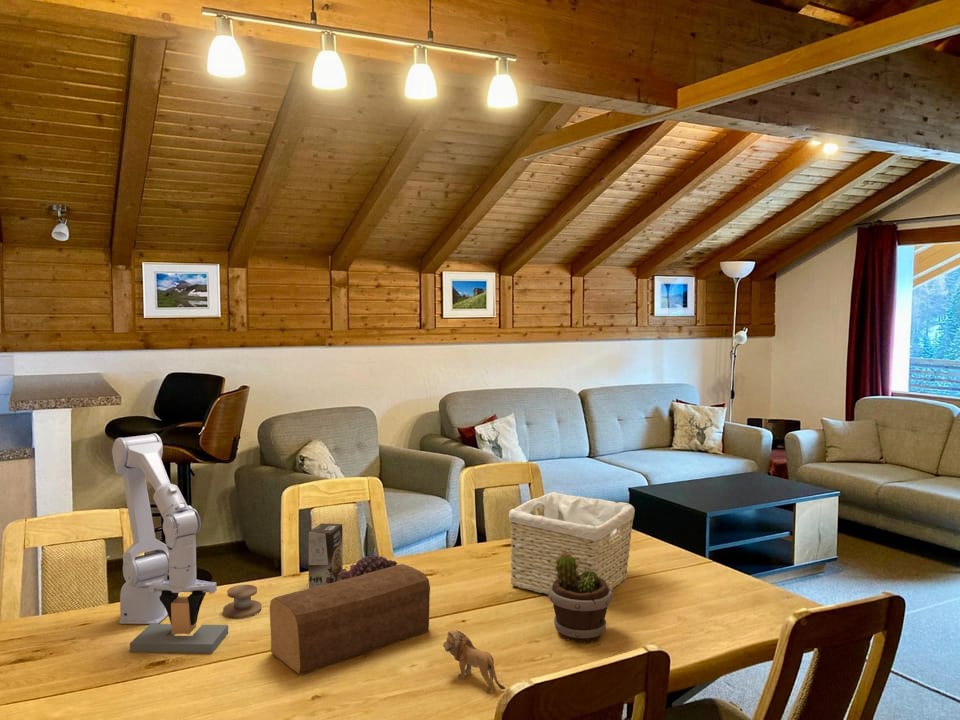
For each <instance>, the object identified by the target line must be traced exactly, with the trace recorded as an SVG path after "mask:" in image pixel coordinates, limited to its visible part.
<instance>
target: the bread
mask: <svg viewBox="0 0 960 720" xmlns="http://www.w3.org/2000/svg"><path fill="white" fill-rule="evenodd" d="M430 594H431V585H430V580H429V577H427V575H426V574H425V573H424V572H422V571H421V570H418V569H417V568H415V567H413V566H410V565H407V564H405V563H402V564H401V563H400V564H396V566H392V567H388V568H385V569H381V570H378V571H374V572H370V573H367V574H364V575H360V576H357V577H353V578H348V579H344V580H340V581H337V582H334V583H329V584H324V585H320V586H317V587H313V588H309V587H308V588H305V589H301V590H298V591H294V592H290V593H285V594H282V595H279V596H276V597H273V598H272V599H271V600H270V604H269V619H270V620H269V621H270V622H269V623H270V627H269V628H270V653H271V654H272V655H273V656H275V657H276V658H277V659H279V660H280V661H282V662H283V663H284V664H285V665H287V666H288V667H289V668H290V669H291V670H293V671H295V672H296V674H298V675H300V676H302V675H304V674H307V673H311V672H314V671H317V670H320V669H323V668H325V667H328V666H331V665H334V664H337V663H339V662H344V661H346V660H349V659H353V658H356V657H358V656H361V655H363V654H366V653H369V652H373V651H376V650H379V649H382V648H385V647H389V646H390V645H391V646H392V645H394V644H396V643H400V642H401V641H404V640H407V639H410V638H413V637H417V636H419V635H422V634H424V633H427V632H429V628H430V598H431V597H430Z"/></svg>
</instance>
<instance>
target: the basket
mask: <svg viewBox="0 0 960 720" xmlns="http://www.w3.org/2000/svg"><path fill="white" fill-rule="evenodd" d="M533 511H536V512H537V515H535V514H532V512H533ZM635 511H636V510H635V507H634V506H633V505H632V504H630V503H628V502H622V501H619V502H616V501H612V500H606V499H602V498H594V497H593V498H592V497H589V498H588V497H584V496H582V495H581V496H578V495H570V494H565V493H558V492H556V491H552V492H549V493H546V494H544V495H542V496H539V497H537V498H532V499H530V500H528V501H525V502H524V503H522V504H520V505H519V506H517V507H515V508H512V509H510V510H509V511H508V512H509V513H508V519H509V522H510V551H511V552H510V560H511V561H510V567H511V569H510V574H511V576H510V584H511V585H512V586H514V587H518V588H520V589H523V590H530V591H533V592H535V593H537V592H538V594H545V595H549V588H550V586H551V585H552V584H553V583H554V581H555V580H556V579H558V578H555V577H556V575H558V573H557V572H558V571H555V570H554V569H555V567H557V565H556V564H557V563H556V562H557V560H558V559H559V558H560V556H562V554H563V552H564V553H568V552H569V553H570V552H571V551H572V552H571V554H572V555H570V556H571V557H574V559H575V558H576V559H577V560H575V561H576V564H577V565H578V567H579V568H578V567H577V568H576V572H577V570H578V572H579V573H578V574H577V575H581V574H582V573H584V572H585V570H586V571H589V569H591V570H592V569H595V571H596V572H595V571H594V570H592V571H593V572H595V573H596V574H597V576H598V577H599V578H602V579H603V580H605V582H606V583H607V585H608V587H610V588H611V590H612V591H613V590H614V588H615V587H617V586H619V585H620V584H621V583H622V582H624V581H625V580H626V579H627V577H628V576H627V575H628V567H629V564H628V562H629V558H630V550H631V549H630V547H631V540H632V539H631V538H632V531H633V528H632V527H633V522H634V517H635ZM564 548H565V549H566V550H565V549H564ZM561 551H562V552H561ZM565 551H566V552H565ZM559 555H560V556H559ZM567 555H568V554H567ZM557 556H559V557H557ZM555 561H556V562H555ZM579 565H580V566H579ZM591 566H592V567H591ZM588 567H589V568H588ZM590 567H591V568H590ZM587 568H588V569H587ZM583 570H584V571H583ZM555 574H556V575H555Z"/></svg>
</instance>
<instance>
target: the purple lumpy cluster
mask: <svg viewBox="0 0 960 720" xmlns="http://www.w3.org/2000/svg"><path fill="white" fill-rule="evenodd" d="M396 565H398V562H396V561H395V560H392V559H387V558H386V557H383V556H382V555H380V556H378V555H374V554H373V555H368V556H367V555H366V556H365V557H361V558H360V559H359V560H358V561H357V562H356V563H355V564H354V563H353V564H351V565H349V567H350V568H349V570H347V568H343V570H342V571H341V573H339V574H337V576H340V578H341V579H342V580H344V579H348V578H353V577H357V576H360V575H364V574H367V573H370V572H374V571H378V570H381V569H385V568H388V567H392V566H396Z"/></svg>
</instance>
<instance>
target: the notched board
mask: <svg viewBox="0 0 960 720" xmlns="http://www.w3.org/2000/svg"><path fill="white" fill-rule="evenodd" d="M228 634H229V625H228V624H201V625H200V627H198V628H197V630H196V631H195V632H194V633H193V634H192V635H176V634H172V625H171V623H159V624H148V626H147V627H146V628H144V629H143V630H142V631H141V632H140V633H139V634H138V635H137V636H136V637H135V638H134V639H133V640H131V642H129V652H130V653H164V652H174V654H175V652H178V653H177V654H179V653H180V652H182V653H181V654H213V653H214V652H215V651H216V650H217V648H218V647H219V646H220V645H221V643H222V642H223V641H224V639H225V638H226V637H227V636H228ZM226 635H227V636H226ZM222 640H223V641H222ZM218 645H219V646H218ZM214 650H215V651H214Z"/></svg>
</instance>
